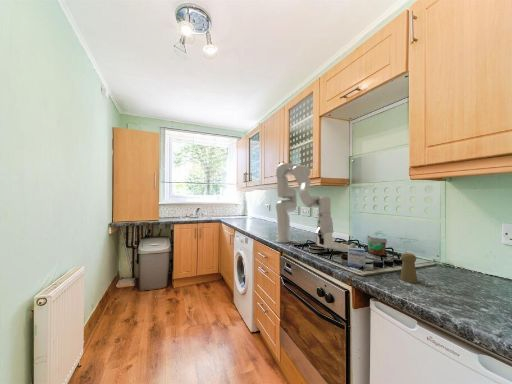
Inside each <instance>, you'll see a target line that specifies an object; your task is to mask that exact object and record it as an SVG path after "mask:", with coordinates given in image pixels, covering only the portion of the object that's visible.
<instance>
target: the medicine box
mask: <svg viewBox="0 0 512 384" xmlns="http://www.w3.org/2000/svg"><path fill="white" fill-rule="evenodd" d="M347 266H348V267H350V266H351V267H353V268H361V267H362V266H363V269H365V268H366V249H365V248H360V247H355V248H348V253H347Z"/></svg>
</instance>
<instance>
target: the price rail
mask: <svg viewBox="0 0 512 384" xmlns="http://www.w3.org/2000/svg"><path fill="white" fill-rule="evenodd" d="M316 244H317V236H315V245H316ZM348 248H356V243H350V244H345V243H340V242H338V241H337V242H336V241H333V247H329V248H328V249H330V250H335V251H339V252H342V253H345V252H348Z"/></svg>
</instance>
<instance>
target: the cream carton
mask: <svg viewBox="0 0 512 384" xmlns="http://www.w3.org/2000/svg"><path fill="white" fill-rule="evenodd" d="M316 235H317V234H316ZM321 235H322V234H321ZM323 238H324V245H322V244H319V237H318V235H317V245H316V246H318V247H323V248H325V249H330V248H329V247H333V242H334V241H333V233H332V232H330V233H325V234H324V235H323Z"/></svg>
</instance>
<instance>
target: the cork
mask: <svg viewBox="0 0 512 384" xmlns="http://www.w3.org/2000/svg"><path fill="white" fill-rule="evenodd" d="M400 259H401V262H402V264H401V271H400V275H399V276H400V277H399V280H400V281H401V282H405V283H410V284H416V283H418V277H417V269H416V265H415V264H416V261H417V256H416V255H415V254H414V253H410V252H409V253H408V252H404V253H401V256H400Z"/></svg>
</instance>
